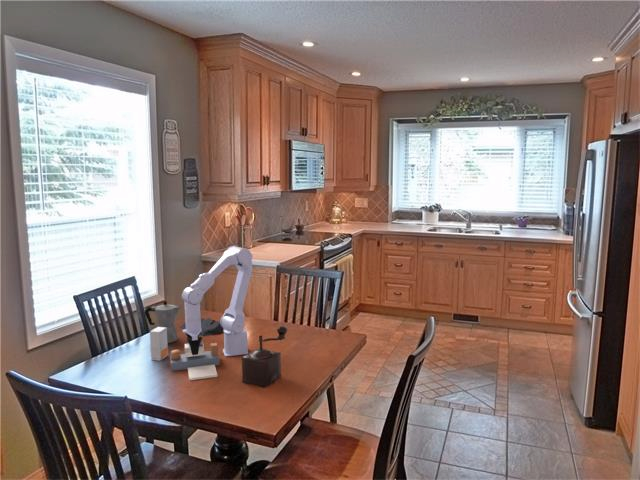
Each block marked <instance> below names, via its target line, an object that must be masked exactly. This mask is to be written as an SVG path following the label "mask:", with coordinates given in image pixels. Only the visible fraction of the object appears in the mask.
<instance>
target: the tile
mask: <svg viewBox="0 0 640 480" xmlns="http://www.w3.org/2000/svg"><path fill="white" fill-rule="evenodd" d="M187 375H188V380H189V381H196V380H204V379H209V378H211V379H212V378H217V377H218V371H217V369H216V365H215V364H213V365H206V366H198V367H190V368H188V369H187Z"/></svg>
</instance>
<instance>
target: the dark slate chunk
mask: <svg viewBox="0 0 640 480" xmlns="http://www.w3.org/2000/svg"><path fill="white" fill-rule="evenodd" d="M181 328H182V329H181ZM201 328H202V331H201V333H200V335H199V336H200V337H210V336H212V335H216V334H219V333H222V332H223V333H224V329H223V327H222V326H221V324H220V321H219V320H217V321H216V320H215V319H211V318H206V319H205V318H203V317H201ZM179 329H181V330H184V329H186V323H183V324H181V325H180V326H179Z"/></svg>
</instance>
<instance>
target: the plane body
mask: <svg viewBox="0 0 640 480" xmlns="http://www.w3.org/2000/svg"><path fill="white" fill-rule="evenodd" d="M209 344H210V350H207V351H205V350H204V355H199V356H191V357H186V356H185V353H182V354H181V350H180V349H172V350H171V351H170V357H169V359H170V371H171V372H172V371H182V370H188V368H190V367H198V366H206V365H213V364H215V366H219V365H221V364H220V356H219V353H218V343H217V342H214V343H213V342H210V343H209Z"/></svg>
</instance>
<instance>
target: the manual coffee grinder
mask: <svg viewBox="0 0 640 480" xmlns="http://www.w3.org/2000/svg"><path fill="white" fill-rule="evenodd" d="M276 332H277V333H278V336H277V338H276V337H274V338H273V337H269V338H263V335H258V342H259V348H256V349H254V350H253V351H251V352H248V354H244V356H242V357H241V368H242V369H241V370H242V371H241V372H242V376H241V377H242V383H244V384H248V385H251V386H252V385H253V386H256V387H257V386H258V387H261V388H267V387H270V386H271V385H273V384H274V383H276V382H277V381H278V380H279V379H280V378H281V377H282V374H281V373H282V368H281V367H282V365H281V364H282V362H281V358H282V357H281V355H282V353H281V352H279V351H274V350H269V349H267V348H263V343H265V342H269V341H282V340H285V339H286V334H287V333H288V328H287V327H286V326H283V325H282V326H279V327H277V329H276Z"/></svg>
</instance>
